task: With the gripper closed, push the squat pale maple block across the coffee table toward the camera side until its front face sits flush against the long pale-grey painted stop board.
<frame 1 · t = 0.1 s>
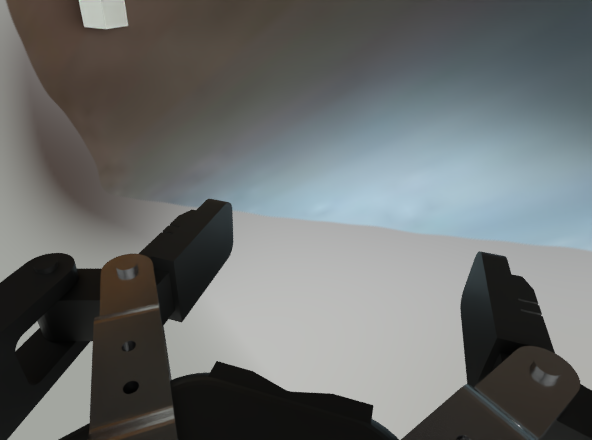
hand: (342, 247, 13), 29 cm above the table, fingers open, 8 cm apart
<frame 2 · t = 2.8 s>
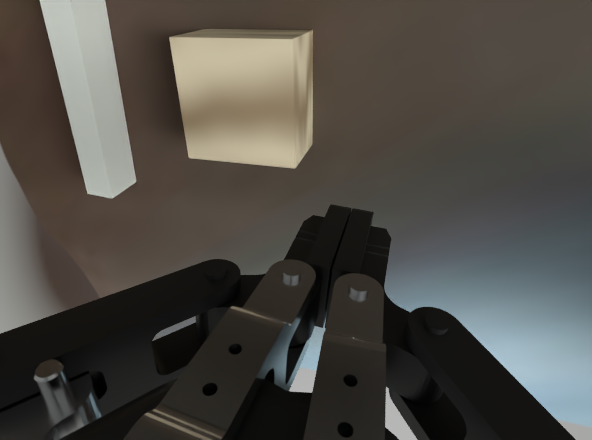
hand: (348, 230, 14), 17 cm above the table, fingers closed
stop board: (103, 68, 33), on the table
maple block: (261, 88, 30), on the table
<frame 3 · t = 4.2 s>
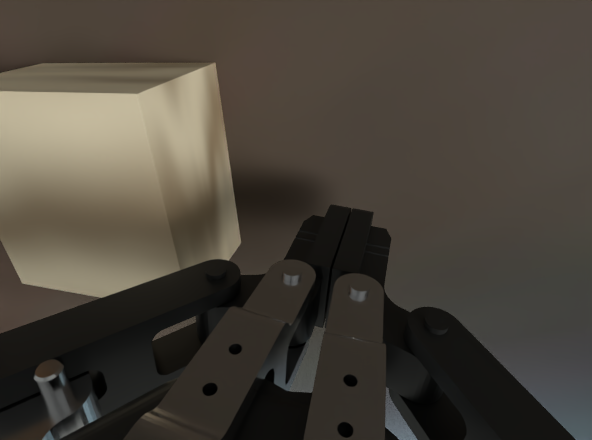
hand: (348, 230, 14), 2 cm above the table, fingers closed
maple block: (149, 156, 18), on the table
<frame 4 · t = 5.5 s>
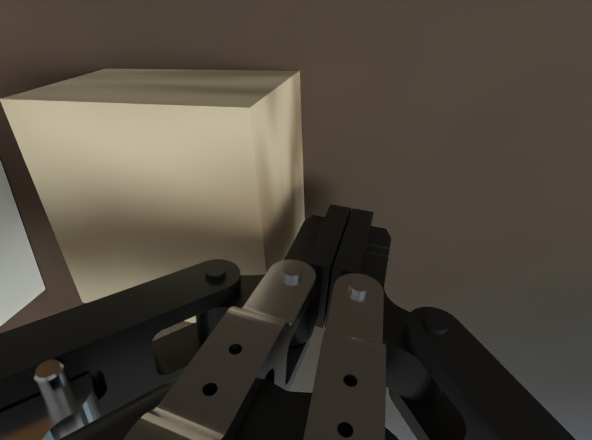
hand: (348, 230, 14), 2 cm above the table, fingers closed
maple block: (213, 167, 17), on the table, touching gripper
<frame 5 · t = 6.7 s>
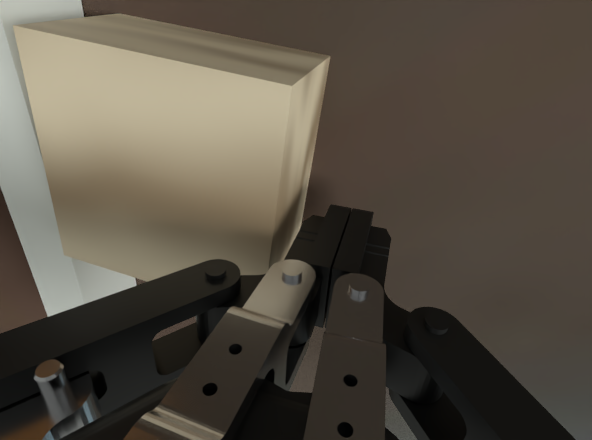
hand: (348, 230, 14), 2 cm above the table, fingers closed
stop board: (86, 148, 18), on the table
maple block: (221, 137, 17), on the table
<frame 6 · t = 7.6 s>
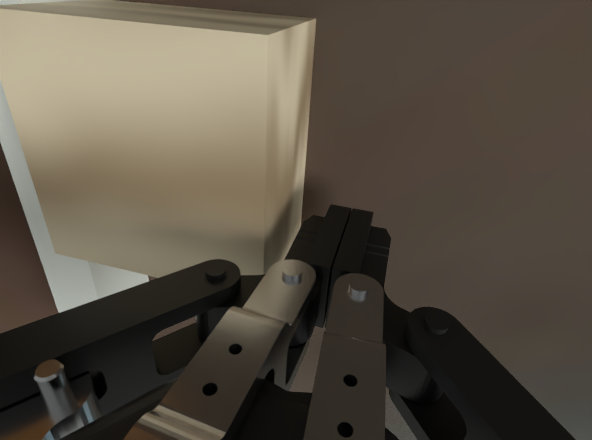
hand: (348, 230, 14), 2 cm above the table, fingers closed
stop board: (104, 160, 18), on the table
maple block: (210, 121, 16), on the table, touching gripper
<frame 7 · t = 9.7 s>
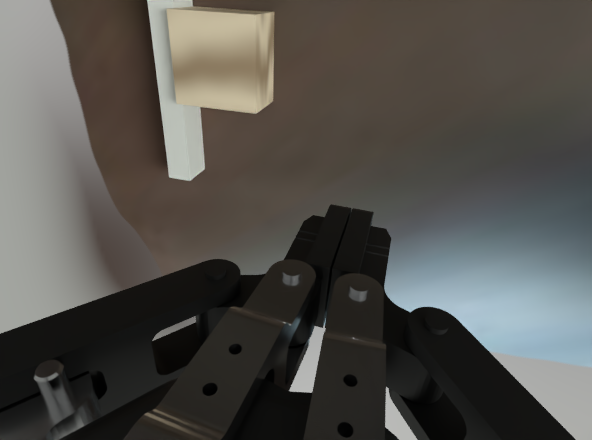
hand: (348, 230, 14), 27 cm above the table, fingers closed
stop board: (187, 77, 42), on the table
maple block: (235, 55, 39), on the table
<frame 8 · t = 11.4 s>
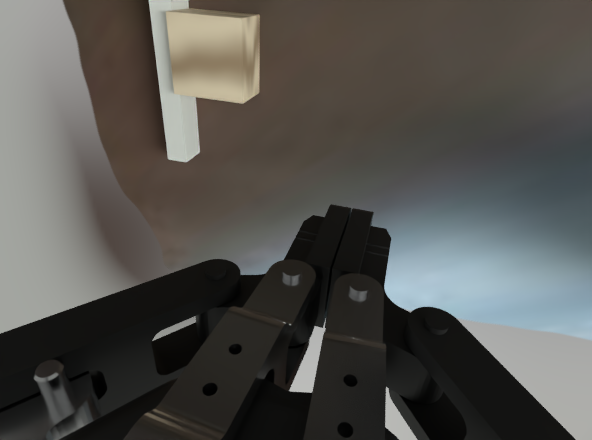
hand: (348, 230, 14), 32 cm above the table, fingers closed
stop board: (184, 70, 47), on the table
maple block: (226, 51, 45), on the table
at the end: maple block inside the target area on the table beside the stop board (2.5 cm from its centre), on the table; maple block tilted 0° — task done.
